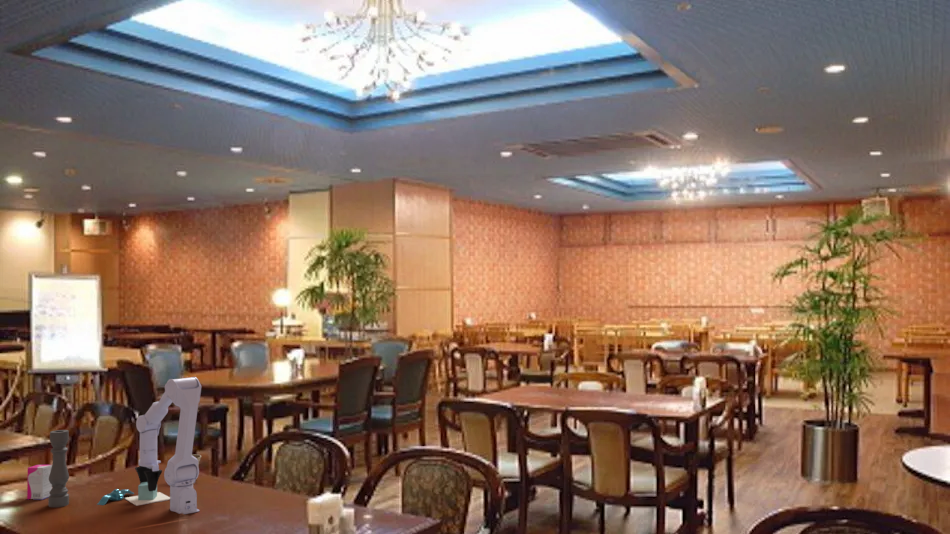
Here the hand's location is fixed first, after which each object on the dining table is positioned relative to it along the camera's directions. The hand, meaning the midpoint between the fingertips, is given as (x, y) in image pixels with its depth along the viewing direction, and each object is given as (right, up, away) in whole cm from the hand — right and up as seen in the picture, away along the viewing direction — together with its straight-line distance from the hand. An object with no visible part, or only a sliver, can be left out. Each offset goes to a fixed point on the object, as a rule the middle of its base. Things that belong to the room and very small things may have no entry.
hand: (148, 488), depth 278 cm
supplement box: (-39, -4, +2) cm, 39 cm away
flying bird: (-12, -4, 0) cm, 13 cm away
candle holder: (-27, -4, -8) cm, 29 cm away
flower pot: (+3, -5, +29) cm, 30 cm away
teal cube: (0, -3, 0) cm, 3 cm away
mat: (0, -4, 0) cm, 4 cm away
